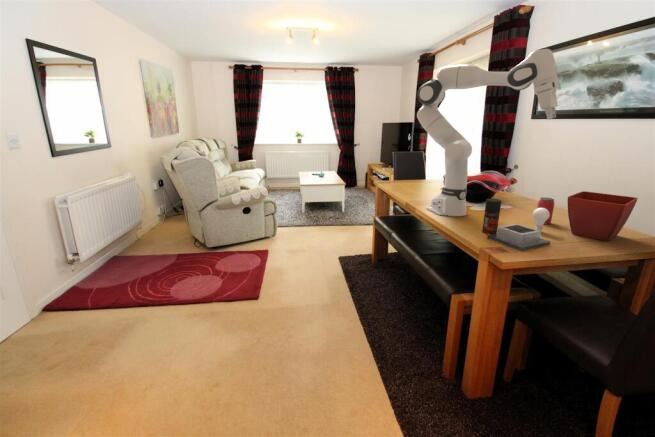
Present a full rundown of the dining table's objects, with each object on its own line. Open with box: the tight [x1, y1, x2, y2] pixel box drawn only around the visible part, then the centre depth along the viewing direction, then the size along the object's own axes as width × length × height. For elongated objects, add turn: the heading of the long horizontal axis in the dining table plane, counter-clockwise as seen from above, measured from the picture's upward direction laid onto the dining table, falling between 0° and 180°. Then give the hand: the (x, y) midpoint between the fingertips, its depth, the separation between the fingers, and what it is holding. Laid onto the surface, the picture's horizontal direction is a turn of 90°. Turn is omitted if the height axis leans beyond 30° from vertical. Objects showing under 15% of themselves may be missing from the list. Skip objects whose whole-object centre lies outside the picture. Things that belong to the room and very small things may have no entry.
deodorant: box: [481, 198, 502, 235], centre depth 141 cm, size 6×6×15 cm
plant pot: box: [567, 190, 639, 242], centre depth 136 cm, size 19×19×17 cm
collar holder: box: [486, 223, 551, 252], centre depth 131 cm, size 16×16×6 cm
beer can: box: [536, 196, 555, 225], centre depth 155 cm, size 7×7×12 cm
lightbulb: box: [532, 207, 550, 232], centre depth 142 cm, size 6×6×11 cm
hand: (551, 118), depth 141 cm, fingers open, 8 cm apart
